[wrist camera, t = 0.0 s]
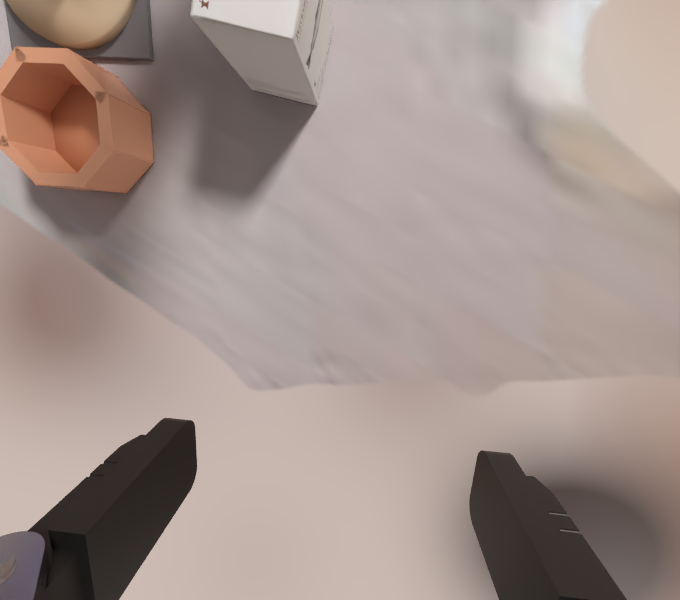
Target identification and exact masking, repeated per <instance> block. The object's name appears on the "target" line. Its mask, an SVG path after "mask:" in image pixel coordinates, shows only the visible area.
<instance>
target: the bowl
mask: <svg viewBox="0 0 680 600" xmlns="http://www.w3.org/2000/svg"><path fill="white" fill-rule="evenodd" d="M0 149H1V150H2V151H3V152H4V153H5V154H6V155H7V156H8V157H9V158H10V159H11V160H12V161H13V162H14V163H15V164H16V165H17V166H18V167H19V168H20V169H21V170H22V171H23V172H24V173H25V174H26V175H27V176H28V177H29V178H30V179H31V180H32V181H33V182H34V183H35V185H37V186H46V187H55V188H64V189H73V190H82V191H104V192H119V193H128V191H129V190H130V189H131V188H132V187H133V186H134V184H135V183H136V182H137V181H138V180H139V179H140V178H141V176H142V175H143V174H144V173H145V172H146V171H147V170H148V168H149V167H150V166H151V165H152V164H153V163H154V158H153V144H152V129H151V114H150V113H149V112H148V111H147V110H146V109H145V108H144V107H143V106H142V105H141V103H140V102H139V101H138V100H137V99H136V98H135V97H134V96H133V95H132V94H131V92H130V91H129V90H128V89H127V88H126V87H125V86H124V85H123V84H122V82H121V81H120V80H119V79H118V77H116V76H114V75H113V74H111V73H109V72H108V71H106V70H104V69H102V68H101V67H99V66H97V65H96V64H94V63H92V62H90V61H89V60H87V59H85V58H84V57H82V56H80V55H78V54H77V53H75V52H73V51H72V50H70V49H68V48H42V47H17V46H16V47H15V48H14V50H13V51H12V52H11V54H10V55H9V57H8V58H7V60H6V61H5V63H4V64H3V66H2V67H1V69H0Z"/></svg>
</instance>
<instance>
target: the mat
mask: <svg viewBox="0 0 680 600" xmlns="http://www.w3.org/2000/svg"><path fill="white" fill-rule="evenodd" d="M4 1H5V8H6V14H7V21H8V27H9V34H10V41H11V47H12V51H13V50H14V48H15V47H16V46H17V47H42V48H65V47H62V46H59V45H57V44H55V43H53V42H51V41H49V40H48V39H46V38H44V37H43V36H41V35H39V34H37V33H36V32H34V31H33V30H32V29H30V28H29V27H28V26H27V25H26V24H25V23H24V22H22V21H21V20H20V19H19V17H18V16H17V15H16V14H15V13H14V11H13V10H12V9H11V7H10V6H9V4H8V3H7V1H6V0H4ZM68 49H69V48H68ZM70 50H72V51H73V52H75V53H77V54H78V55H80V56H82V57H84V58H97V59H126V60H153V48H152V32H151V16H150V1H149V0H137V2H136V5H135V8H134V11H133V13H132V15H131V17H130V20H129V21H128V23H127V24H126V26H125V27H124V29H123V30H122V31H121V32H120V33H119V34H118V35H117V36H116V37H115V38H114V39H113V40H112V41H110V42H108V43H107V44H105V45H103V46H100V47H98V48H94V49H90V50H74V49H70Z"/></svg>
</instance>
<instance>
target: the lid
mask: <svg viewBox="0 0 680 600" xmlns="http://www.w3.org/2000/svg"><path fill="white" fill-rule="evenodd" d="M6 1H7V3H8V4H9V6H10V7H11V9H12V10H13V11H14V13H15V14H16V15H17V16H18V17H19V19H20V20H21V21H22V22H24V23H25V24H26V25H27V26H28V27H29V28H30V29H32V30H33V31H34V32H36V33H37V34H39V35H41V36H43V37H44V38H46V39H48V40H49V41H51V42H53V43H55V44H57V45H59V46H62V47H65V48H69V49H74V50H90V49H94V48H98V47H100V46H103V45H105V44H107V43H108V42H110V41H112V40H113V39H114V38H115V37H116V36H117V35H118V34H119V33H120V32H121V31H122V30H123V29H124V27H125V26H126V24H127V23H128V21H129V20H130V17H131V15H132V13H133V11H134V8H135V5H136V2H137V0H6Z"/></svg>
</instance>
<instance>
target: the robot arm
mask: <svg viewBox="0 0 680 600" xmlns="http://www.w3.org/2000/svg"><path fill="white" fill-rule="evenodd" d="M196 470H197V458H196V437H195V425H194V422H193V421H191V420H181V419H172V418H164V419H163V420H161V421H160V422H159V423H158V424H157V425H156V426H155V427H154V428H153V429H152V430H151V431H150V432H149V433H148V434H146V435H140V436H138V437H136V438H135V439H132V440H131V441H129V442H127V443H125V444H124V445H122V446H120V447H119V448H118V449H117V450H116V451H115V452H114V453H113V454H112V455H110V456H109V457H108V458H107V459H106V460H105V461H104V464H100V465H99V466H98V467H97V468H96V469H95V470H94V471H93V472H92V473H91V474H90V476H89V477H86V478H85V479H84V480H83V481H82V482H81V483H80V484H79V485H78V486H76V487H75V488H74V489H73V490H72V491H71V492H70V493H69V494H68V495H67V496H65V498H63V499H62V500H61V501H60V502H59V503H58V504H57V505H56V506H55V507H53V508H52V509H51V510H50V511H49V512H48V513H47V514H46V515H45V516H44V517H43V518H41V519H40V520H39V521H38V522H37V523H36V524H35V525H34V526H33V527H32V528H30V529H29V530H28V531H24V532H23V531H22V532H15V533H11V534H7V535H4V536H1V537H0V600H119V598H120V597H121V595H122V594H123V592H124V591H125V589H126V588H127V586H128V585H129V583H130V582H131V580H132V579H133V577H134V576H135V574H136V572H137V571H138V569H139V568H140V566H141V565H142V563H143V562H144V560H145V559H146V557H147V556H148V554H149V553H150V551H151V550H152V548H153V546H154V545H155V543H156V542H157V540H158V539H159V537H160V536H161V534H162V533H163V531H164V529H165V528H166V526H167V525H168V523H169V522H170V520H171V519H172V517H173V516H174V514H175V513H176V511H177V510H178V508H179V506H180V505H181V504H182V502H183V501H184V499H185V498H186V496H187V494H188V493H189V491H190V490H191V488H192V485H193V483H194V480H195V476H196ZM470 515H471V520H472V524H473V527H474V530H475V533H476V536H477V538H478V541H479V544H480V547H481V550H482V552H483V555H484V558H485V561H486V564H487V567H488V570H489V572H490V575H491V578H492V581H493V584H494V587H495V589H496V592H497V595H498V598H499V600H627V599H626V598H625V596H624V595H623V593H622V592H621V591H620V589H619V588H618V586H617V585H616V584H615V582H614V581H613V579H612V578H611V576H610V575H609V573H608V572H607V570H606V569H605V567H604V566H603V565H602V563H601V562H600V560H599V559H598V558H597V556H596V554H595V553H594V552H593V550H592V549H591V547H590V546H589V544H588V543H587V541H586V540H585V539H584V537H583V536H582V535H580V534H579V530H578V529H577V527H576V526H575V524H574V523H573V521H572V520H571V518H570V517H568V516H567V513H566V511H565V510H564V508H563V507H562V505H561V504H560V502H559V501H558V500H557V498H556V497H555V495H554V494H553V493H552V492H551V491H550V490H549V489H547V488H546V487H545V486H544V485H543V484H542V483H541V482H539V481H538V480H537V479H536V478H535V477H532V476H526V475H525V474H524V472H523V471H522V469H521V468H520V466H519V464H518V463H517V461H516V460H515V458H514V457H513V455H511V454H510V453H500V452H490V451H480V452H479V454H478V456H477V462H476V467H475V472H474V477H473V483H472V488H471V494H470Z"/></svg>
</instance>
